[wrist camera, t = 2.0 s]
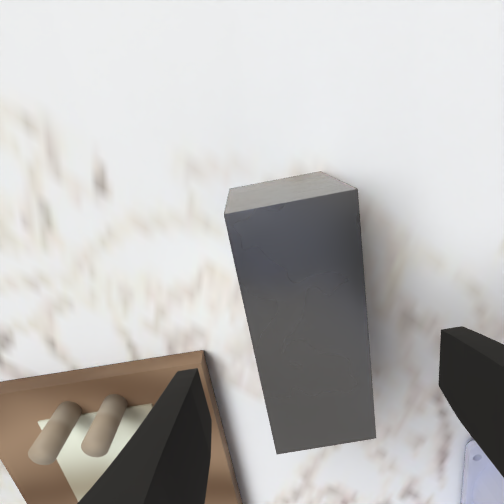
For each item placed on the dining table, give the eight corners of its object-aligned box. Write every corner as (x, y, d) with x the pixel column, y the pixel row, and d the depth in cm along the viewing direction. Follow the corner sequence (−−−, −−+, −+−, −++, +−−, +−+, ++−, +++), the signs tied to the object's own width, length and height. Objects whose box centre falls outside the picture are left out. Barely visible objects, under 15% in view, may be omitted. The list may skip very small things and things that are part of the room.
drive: (340, 357, 18) (376, 438, 13) (267, 369, 18) (276, 454, 13) (319, 170, 14) (358, 188, 10) (229, 188, 14) (223, 214, 10)
